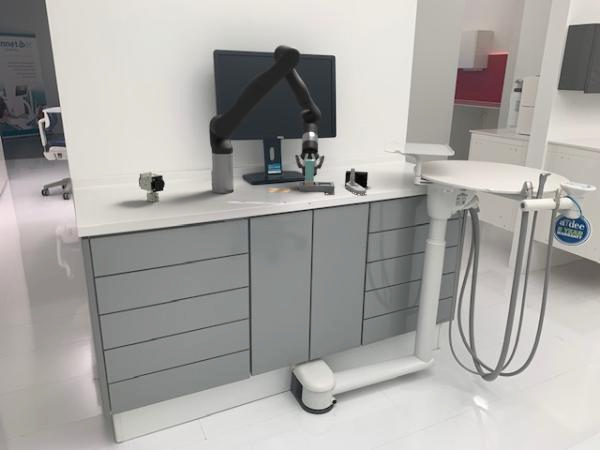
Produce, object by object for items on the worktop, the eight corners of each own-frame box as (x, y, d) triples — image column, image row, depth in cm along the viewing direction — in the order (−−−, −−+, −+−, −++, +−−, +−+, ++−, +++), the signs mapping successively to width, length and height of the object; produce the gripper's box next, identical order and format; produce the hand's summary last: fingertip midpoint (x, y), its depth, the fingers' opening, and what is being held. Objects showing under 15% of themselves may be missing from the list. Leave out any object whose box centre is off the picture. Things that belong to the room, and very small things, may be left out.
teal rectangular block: (304, 187, 216) (305, 160, 212) (304, 185, 220) (305, 159, 216) (313, 187, 216) (314, 161, 212) (313, 185, 220) (314, 159, 216)
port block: (299, 193, 214) (299, 184, 213) (299, 188, 223) (300, 180, 222) (334, 193, 214) (334, 185, 213) (333, 189, 223) (333, 181, 222)
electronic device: (358, 175, 210) (345, 167, 223) (356, 196, 213) (344, 188, 226) (369, 174, 211) (355, 167, 225) (367, 196, 214) (354, 187, 228)
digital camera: (344, 187, 228) (345, 172, 226) (345, 184, 233) (346, 170, 231) (366, 188, 226) (367, 173, 224) (367, 186, 231) (368, 171, 229)
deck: (267, 194, 211) (267, 192, 211) (268, 190, 219) (268, 188, 218) (289, 194, 211) (289, 192, 211) (290, 190, 218) (290, 188, 218)
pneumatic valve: (149, 197, 201) (147, 169, 198) (166, 202, 194) (164, 173, 191) (138, 199, 197) (135, 171, 194) (154, 204, 190) (152, 175, 187)
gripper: (294, 139, 219) (293, 170, 211) (325, 139, 219) (325, 171, 211) (294, 148, 226) (293, 179, 218) (324, 149, 225) (324, 180, 218)
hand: (309, 175), depth 214 cm, fingers closed on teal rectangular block, 4 cm apart
